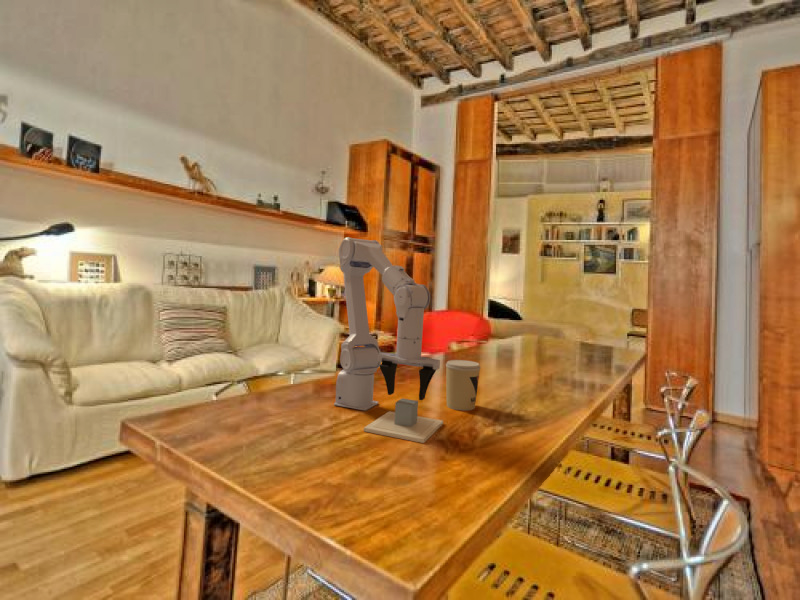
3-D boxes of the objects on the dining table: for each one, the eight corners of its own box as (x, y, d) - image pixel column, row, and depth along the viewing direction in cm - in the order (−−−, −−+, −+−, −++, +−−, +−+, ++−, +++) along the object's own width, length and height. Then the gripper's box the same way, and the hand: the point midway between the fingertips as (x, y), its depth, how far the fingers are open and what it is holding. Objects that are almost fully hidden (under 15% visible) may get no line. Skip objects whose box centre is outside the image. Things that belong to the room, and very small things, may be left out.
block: (394, 424, 101) (395, 402, 101) (401, 419, 105) (402, 398, 104) (410, 427, 99) (412, 405, 99) (416, 422, 103) (418, 400, 103)
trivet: (363, 431, 98) (363, 427, 98) (389, 414, 111) (389, 410, 111) (423, 443, 92) (423, 439, 92) (442, 423, 105) (443, 420, 105)
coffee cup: (477, 413, 116) (480, 367, 115) (441, 409, 118) (444, 364, 117) (478, 403, 125) (481, 361, 124) (445, 400, 127) (447, 358, 126)
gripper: (373, 336, 100) (370, 395, 100) (434, 343, 94) (430, 405, 95) (385, 332, 106) (382, 388, 107) (444, 339, 101) (440, 398, 101)
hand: (406, 396), depth 101 cm, fingers open, 7 cm apart
